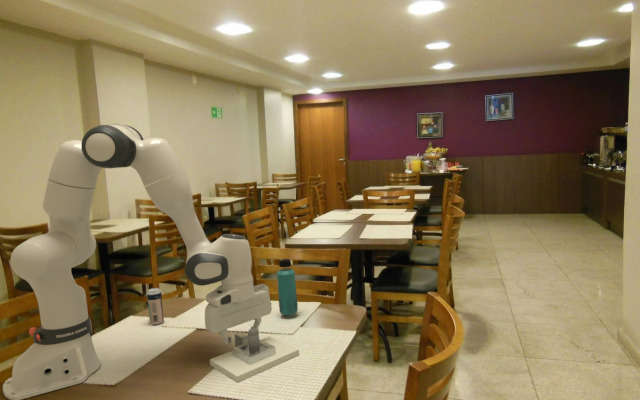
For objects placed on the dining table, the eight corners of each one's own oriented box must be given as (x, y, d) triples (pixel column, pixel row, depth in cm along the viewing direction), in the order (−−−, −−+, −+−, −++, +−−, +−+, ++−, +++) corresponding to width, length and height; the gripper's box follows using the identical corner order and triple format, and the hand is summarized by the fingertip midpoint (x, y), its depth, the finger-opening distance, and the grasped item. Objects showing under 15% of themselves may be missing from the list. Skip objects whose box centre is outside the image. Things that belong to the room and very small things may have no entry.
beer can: (167, 321, 157) (164, 288, 155) (155, 326, 153) (152, 292, 151) (158, 319, 159) (155, 287, 158) (146, 324, 155) (143, 290, 154)
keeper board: (237, 382, 112) (235, 347, 111) (210, 364, 122) (207, 333, 121) (299, 354, 125) (297, 323, 124) (269, 341, 136) (267, 312, 135)
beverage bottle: (297, 319, 152) (294, 261, 150) (278, 319, 153) (274, 262, 150) (298, 312, 159) (295, 257, 157) (280, 313, 159) (276, 257, 157)
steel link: (225, 350, 127) (224, 337, 126) (250, 341, 132) (249, 328, 132) (250, 364, 118) (249, 350, 117) (275, 353, 123) (274, 339, 123)
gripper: (261, 280, 136) (264, 324, 137) (200, 297, 122) (204, 346, 123) (274, 284, 131) (277, 329, 132) (211, 302, 117) (215, 353, 119)
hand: (241, 337), depth 128 cm, fingers open, 8 cm apart
